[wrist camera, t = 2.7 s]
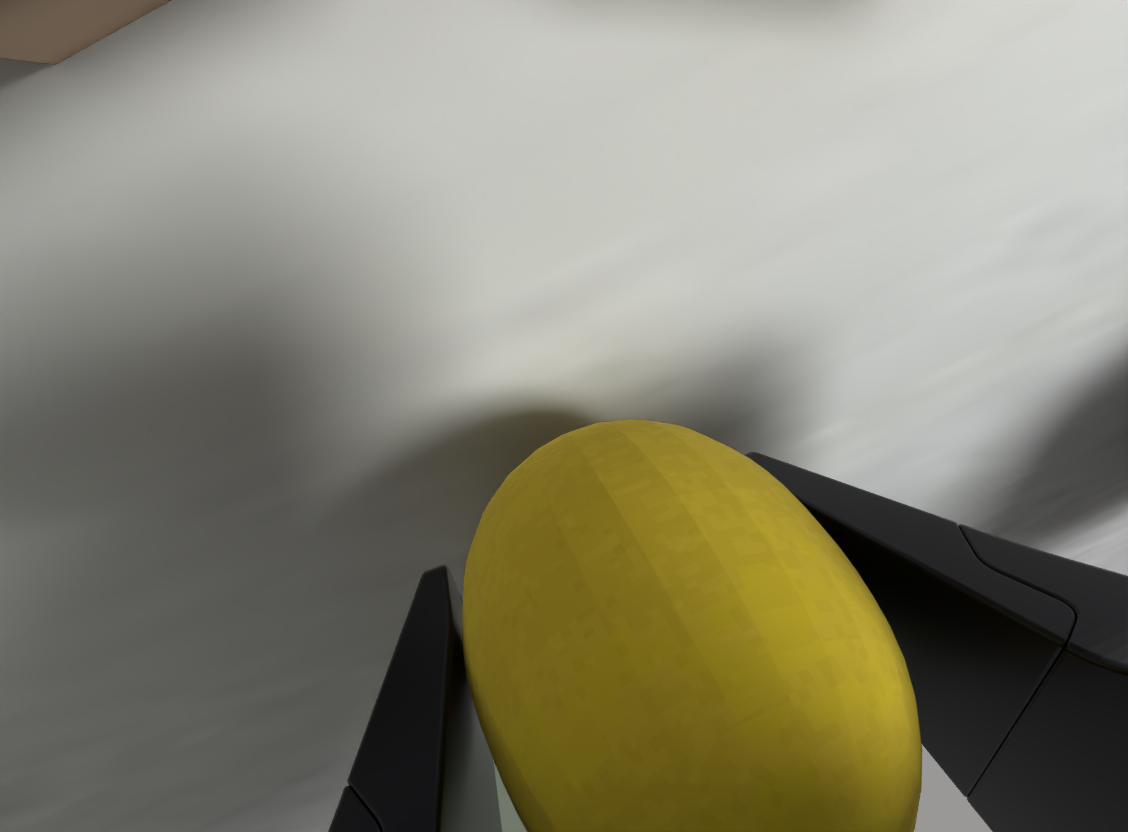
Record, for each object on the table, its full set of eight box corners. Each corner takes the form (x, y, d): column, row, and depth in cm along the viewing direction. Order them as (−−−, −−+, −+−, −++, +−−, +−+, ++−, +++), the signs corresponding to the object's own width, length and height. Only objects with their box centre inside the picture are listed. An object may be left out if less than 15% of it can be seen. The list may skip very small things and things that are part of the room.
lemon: (580, 589, 13) (791, 1070, 7) (378, 517, 10) (399, 1266, 4) (729, 424, 12) (1173, 814, 5) (550, 288, 9) (1053, 788, 2)
